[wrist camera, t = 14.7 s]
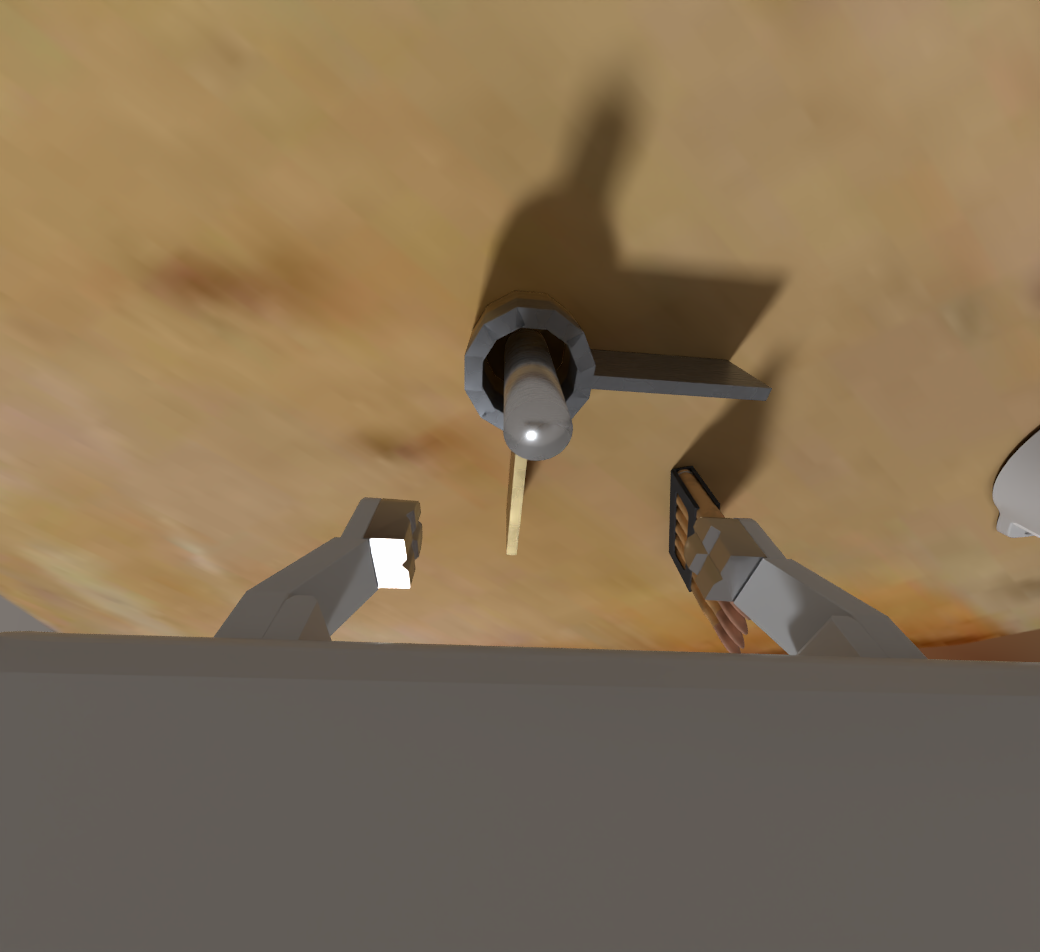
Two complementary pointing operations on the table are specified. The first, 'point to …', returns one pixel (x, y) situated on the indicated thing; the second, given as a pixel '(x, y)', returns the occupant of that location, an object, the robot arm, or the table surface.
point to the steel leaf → (597, 364)
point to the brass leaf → (516, 461)
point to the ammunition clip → (685, 508)
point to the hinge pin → (533, 399)
